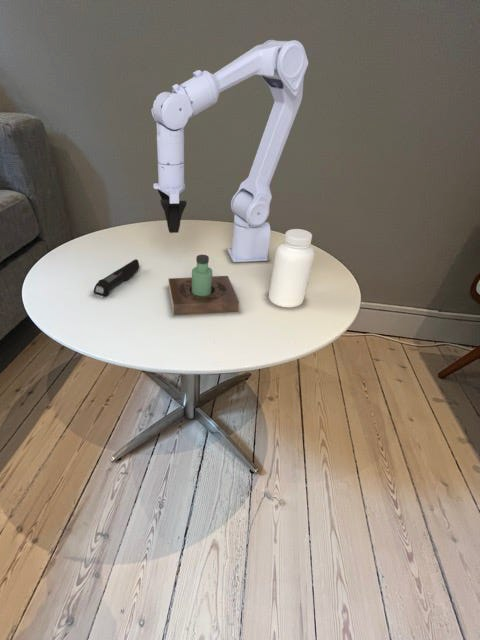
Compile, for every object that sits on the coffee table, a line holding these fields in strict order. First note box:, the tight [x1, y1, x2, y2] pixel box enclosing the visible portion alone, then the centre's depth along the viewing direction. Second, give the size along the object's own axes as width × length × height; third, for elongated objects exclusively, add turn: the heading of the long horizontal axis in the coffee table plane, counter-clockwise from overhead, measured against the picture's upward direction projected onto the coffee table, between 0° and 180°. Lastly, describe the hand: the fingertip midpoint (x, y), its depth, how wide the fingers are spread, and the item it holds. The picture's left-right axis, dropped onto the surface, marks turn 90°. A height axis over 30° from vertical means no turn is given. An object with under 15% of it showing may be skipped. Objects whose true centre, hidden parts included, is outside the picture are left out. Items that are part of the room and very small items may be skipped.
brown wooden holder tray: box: [168, 275, 240, 316], centre depth 86 cm, size 14×12×2 cm
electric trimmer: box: [93, 258, 140, 298], centre depth 92 cm, size 4×16×3 cm, turn 152°
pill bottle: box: [268, 228, 315, 308], centre depth 83 cm, size 8×8×15 cm
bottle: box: [191, 254, 213, 296], centre depth 84 cm, size 4×4×10 cm
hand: (172, 226), depth 92 cm, fingers open, 7 cm apart
